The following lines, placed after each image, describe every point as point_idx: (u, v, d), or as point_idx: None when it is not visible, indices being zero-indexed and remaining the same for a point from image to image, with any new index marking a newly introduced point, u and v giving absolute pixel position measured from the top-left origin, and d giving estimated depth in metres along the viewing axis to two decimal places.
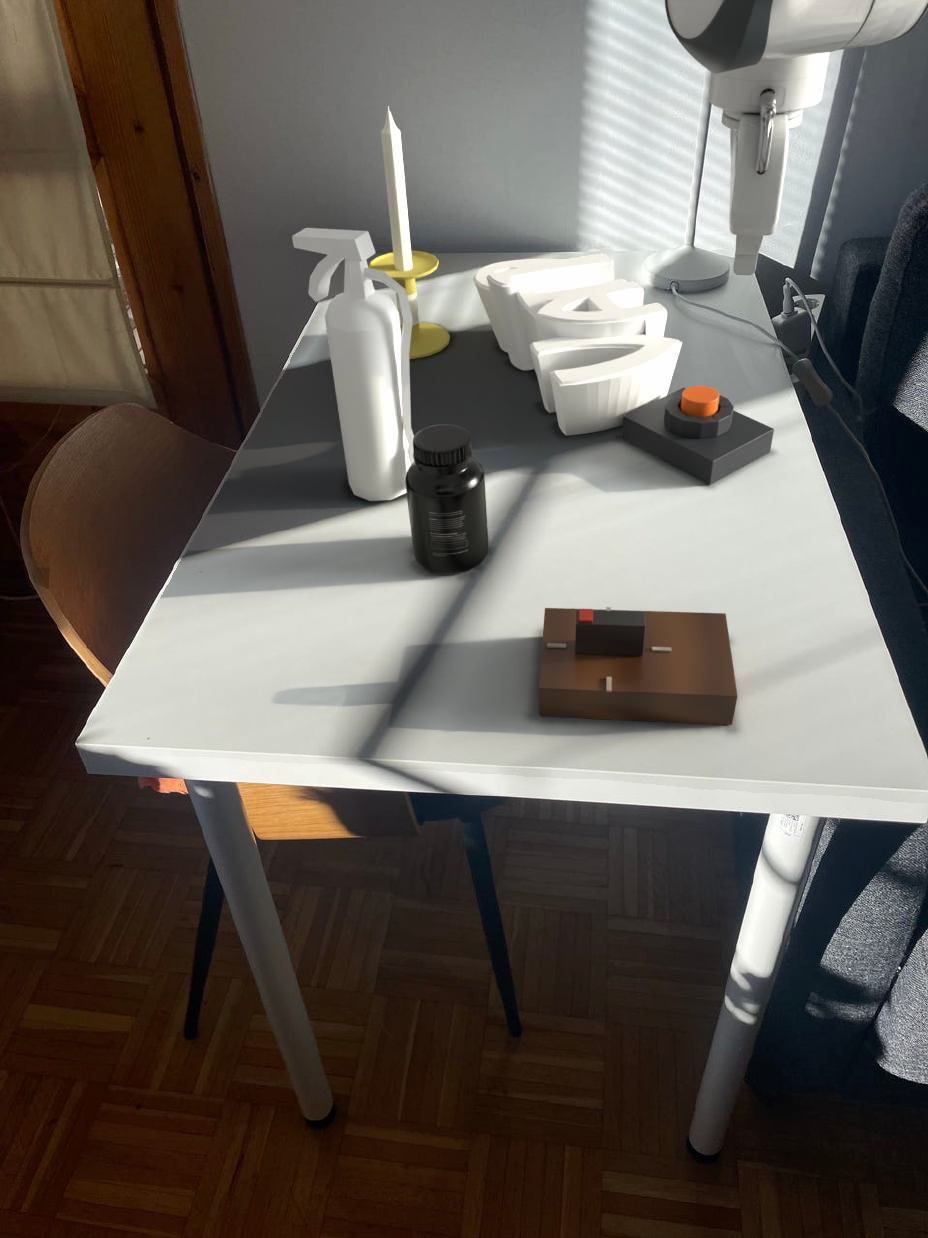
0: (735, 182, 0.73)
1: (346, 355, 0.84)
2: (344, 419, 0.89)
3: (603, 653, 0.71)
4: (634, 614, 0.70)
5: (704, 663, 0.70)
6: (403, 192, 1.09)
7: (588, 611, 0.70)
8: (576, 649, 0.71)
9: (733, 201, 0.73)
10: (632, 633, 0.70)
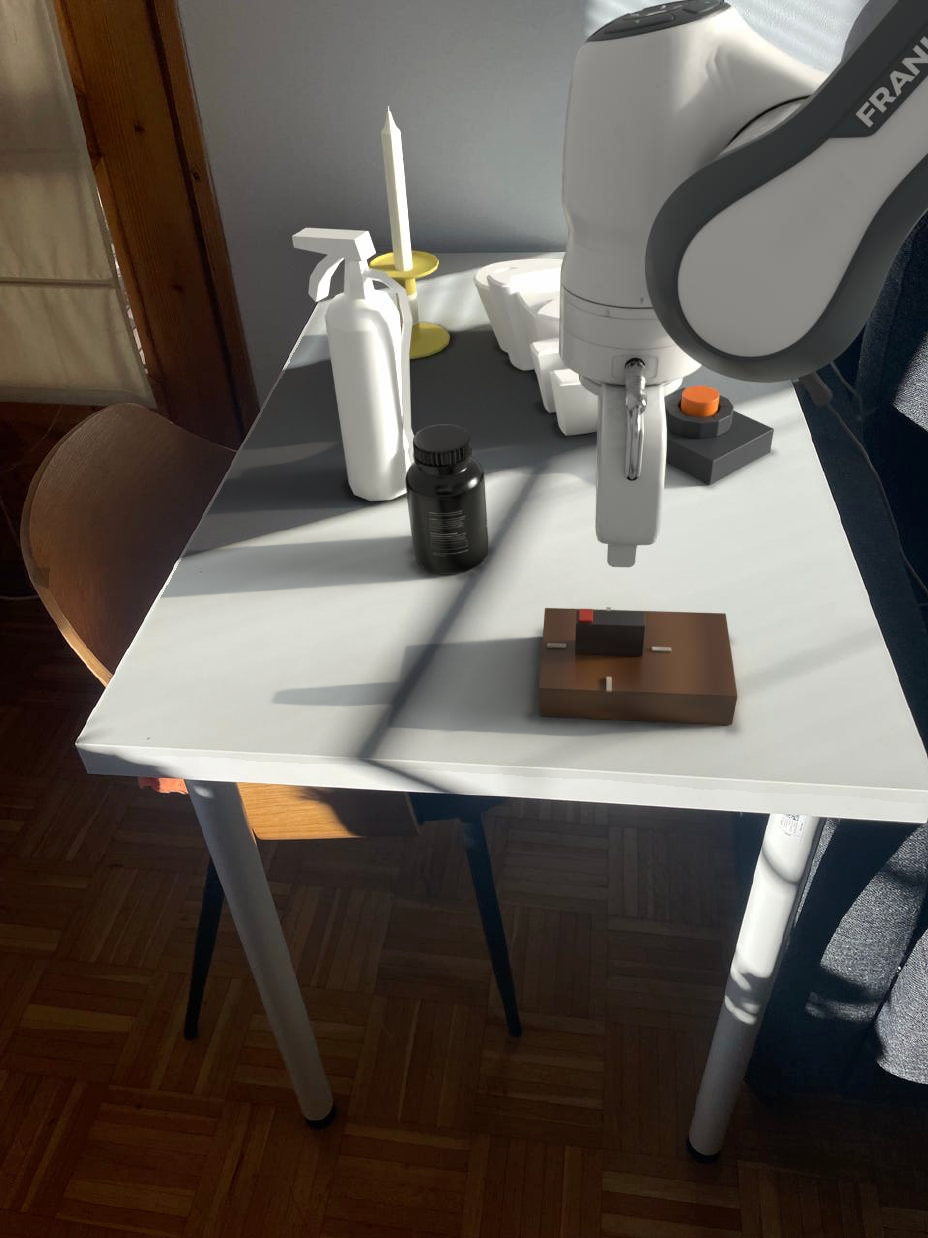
0: (599, 487, 0.53)
1: (346, 355, 0.84)
2: (344, 419, 0.89)
3: (603, 653, 0.71)
4: (634, 614, 0.70)
5: (704, 663, 0.70)
6: (403, 192, 1.09)
7: (588, 611, 0.70)
8: (576, 649, 0.71)
9: (598, 509, 0.54)
10: (632, 633, 0.70)
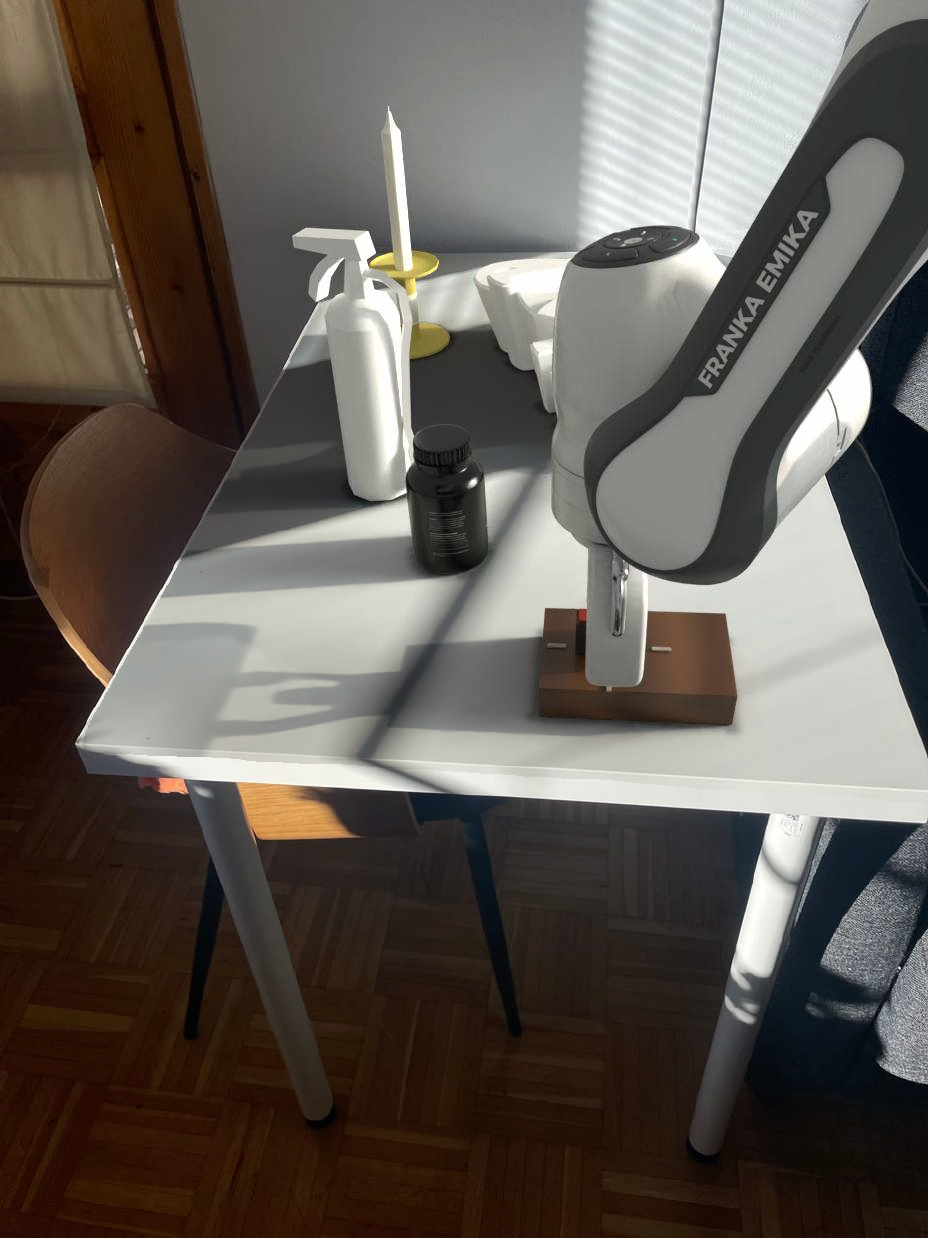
0: (587, 640, 0.59)
1: (346, 355, 0.84)
2: (344, 419, 0.89)
3: None
4: None
5: (704, 663, 0.70)
6: (403, 192, 1.09)
7: None
8: (576, 649, 0.71)
9: (587, 659, 0.60)
10: None
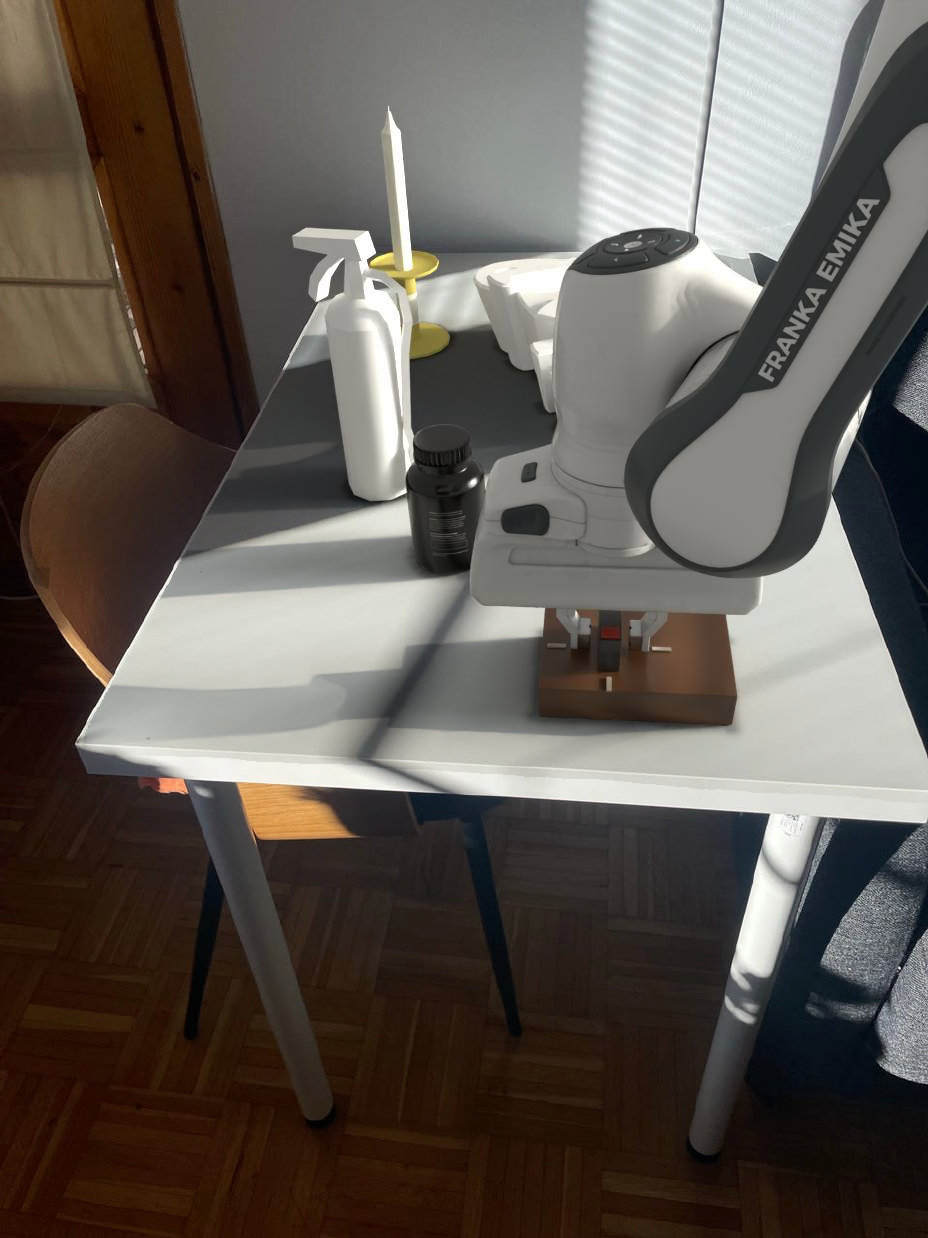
0: None
1: (346, 355, 0.84)
2: (344, 419, 0.89)
3: None
4: None
5: (704, 663, 0.70)
6: (403, 192, 1.09)
7: (606, 629, 0.69)
8: (619, 666, 0.70)
9: (759, 587, 0.64)
10: None
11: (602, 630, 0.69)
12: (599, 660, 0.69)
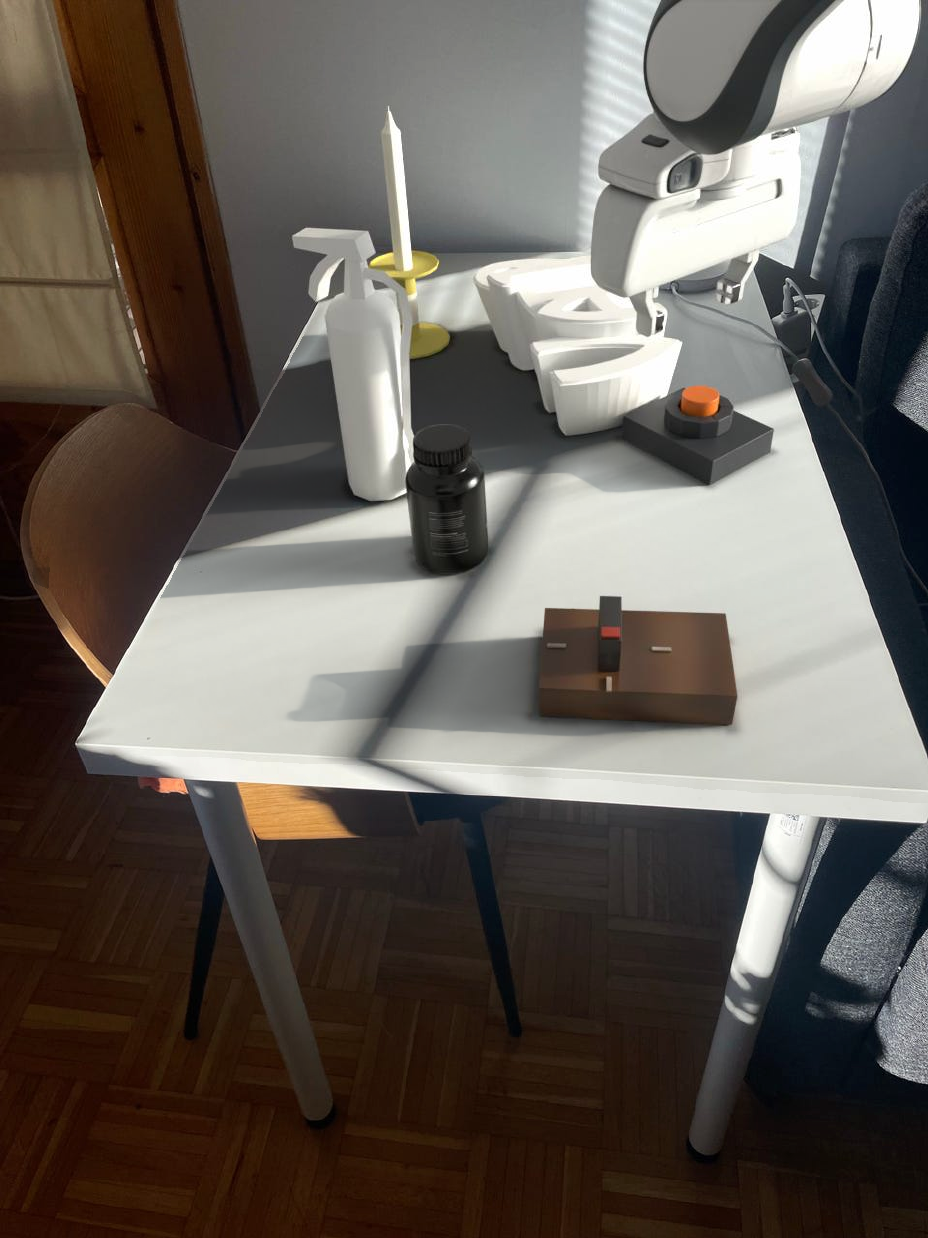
0: (798, 190, 0.79)
1: (346, 355, 0.84)
2: (344, 419, 0.89)
3: None
4: (605, 602, 0.71)
5: (704, 663, 0.70)
6: (403, 192, 1.09)
7: (606, 629, 0.69)
8: (619, 666, 0.70)
9: (797, 206, 0.80)
10: None
11: (602, 630, 0.69)
12: (599, 660, 0.69)
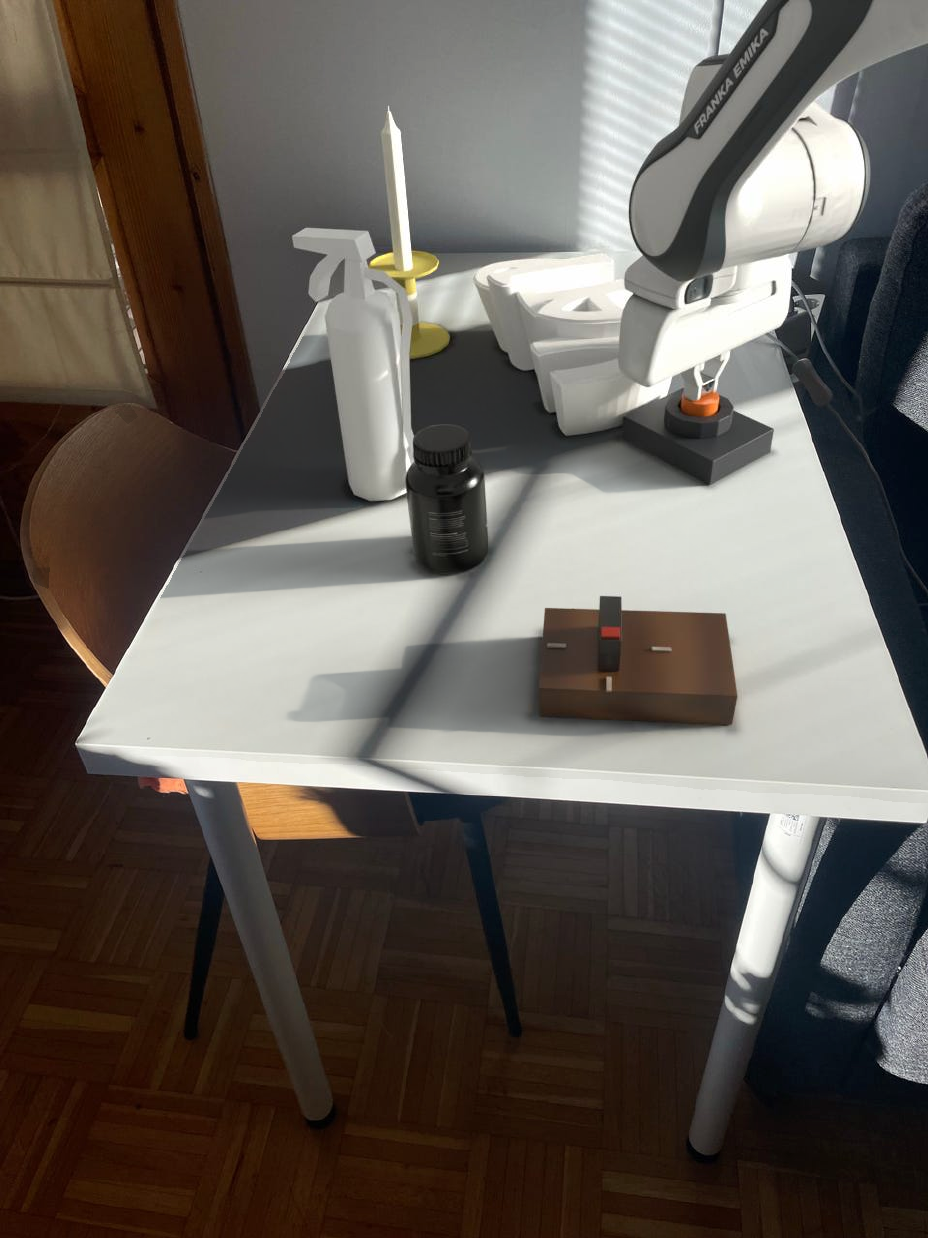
0: (789, 288, 0.92)
1: (346, 355, 0.84)
2: (344, 419, 0.89)
3: None
4: (605, 602, 0.71)
5: (704, 663, 0.70)
6: (403, 192, 1.09)
7: (606, 629, 0.69)
8: (619, 666, 0.70)
9: (789, 300, 0.93)
10: None
11: (602, 630, 0.69)
12: (599, 660, 0.69)
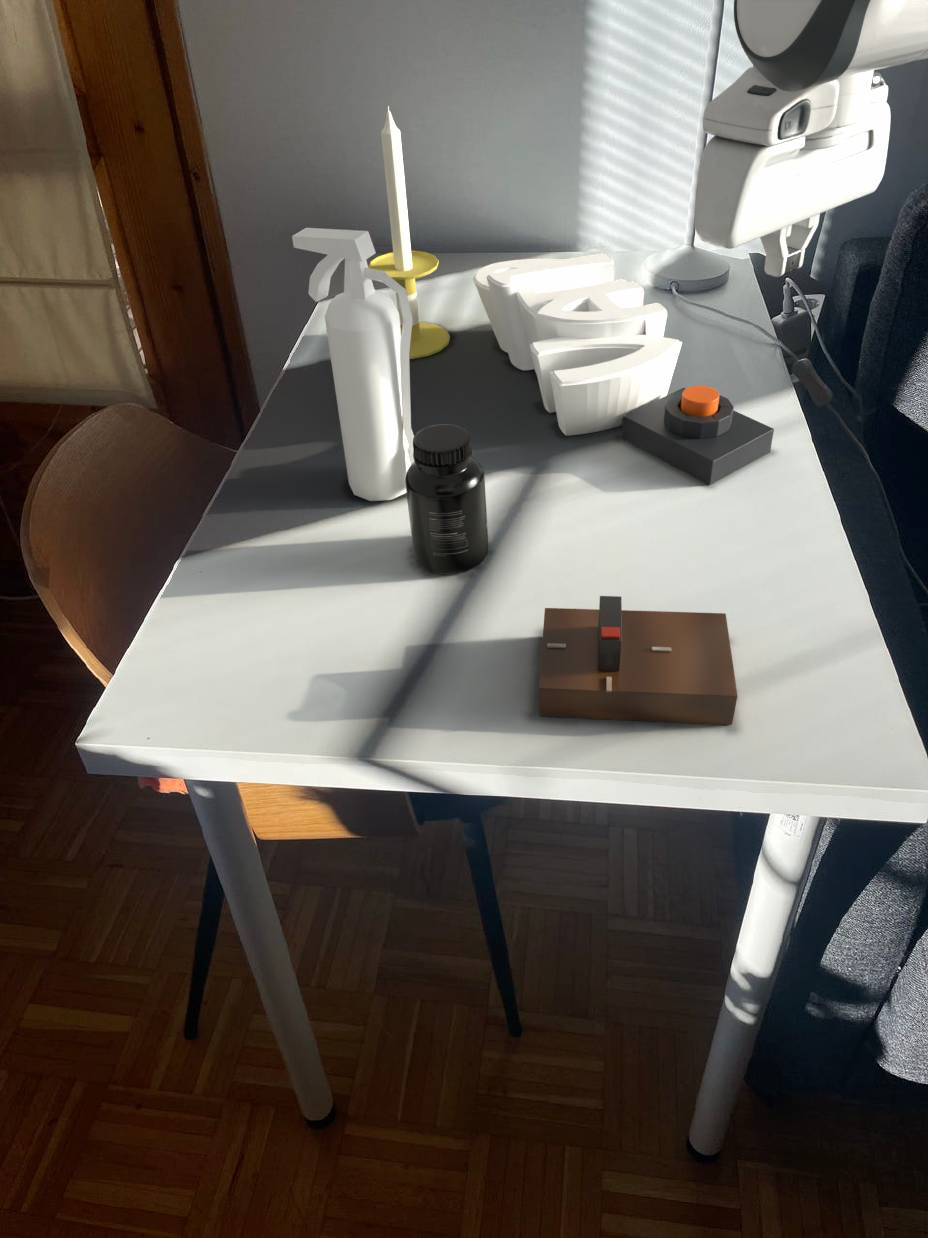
0: (887, 142, 0.80)
1: (346, 355, 0.84)
2: (344, 419, 0.89)
3: None
4: (605, 602, 0.71)
5: (704, 663, 0.70)
6: (403, 192, 1.09)
7: (606, 629, 0.69)
8: (619, 666, 0.70)
9: (885, 158, 0.81)
10: None
11: (602, 630, 0.69)
12: (599, 660, 0.69)
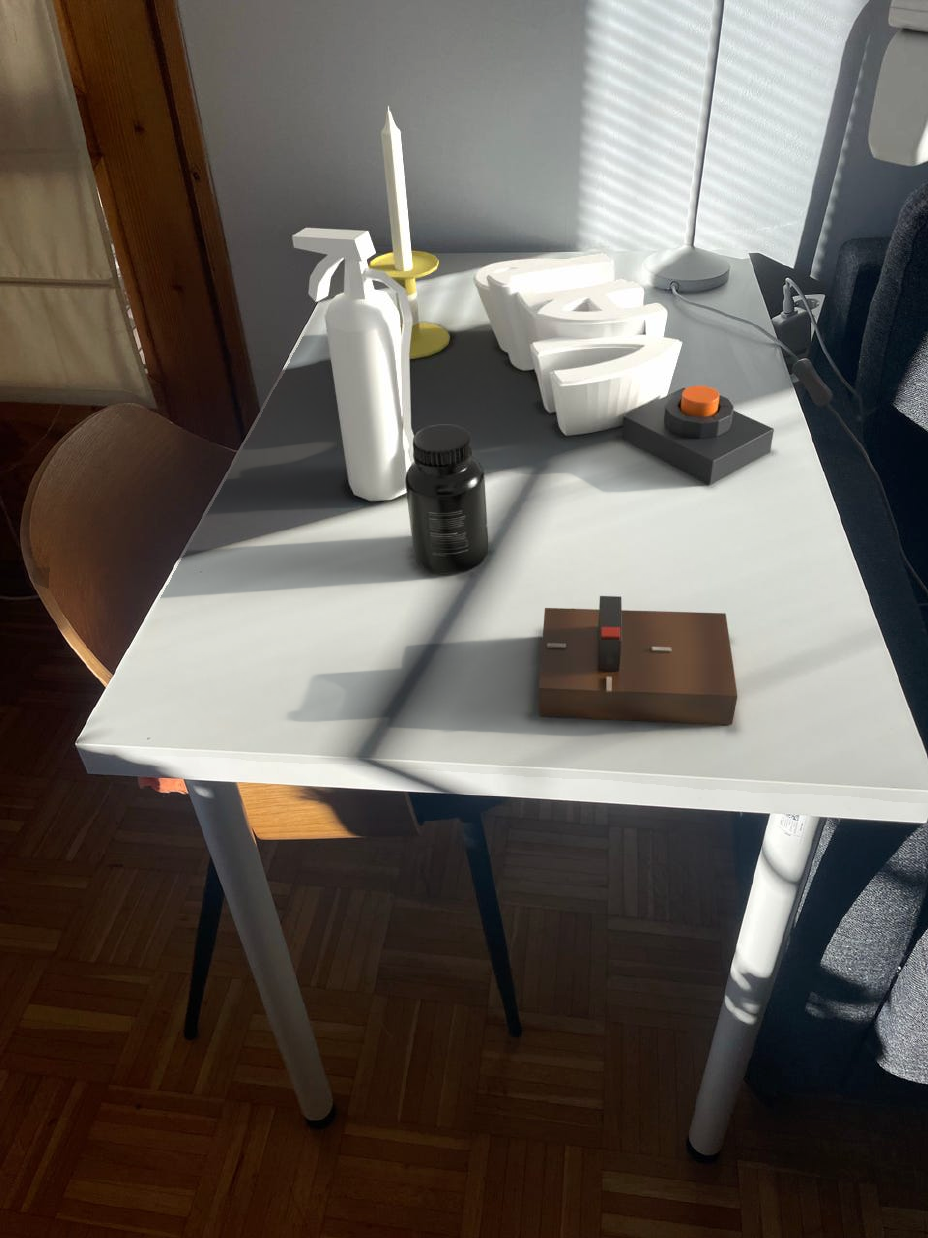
0: None
1: (346, 355, 0.84)
2: (344, 419, 0.89)
3: None
4: (605, 602, 0.71)
5: (704, 663, 0.70)
6: (403, 192, 1.09)
7: (606, 629, 0.69)
8: (619, 666, 0.70)
9: None
10: None
11: (602, 630, 0.69)
12: (599, 660, 0.69)
